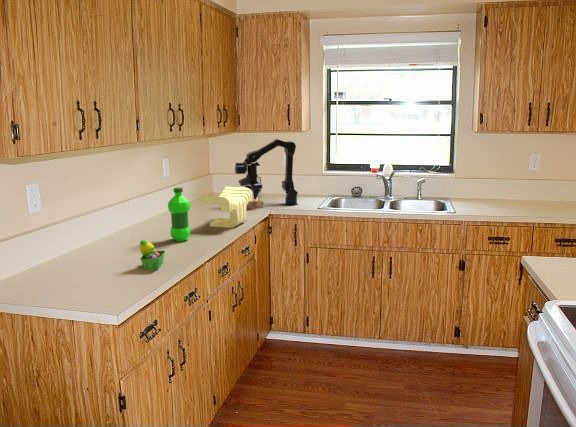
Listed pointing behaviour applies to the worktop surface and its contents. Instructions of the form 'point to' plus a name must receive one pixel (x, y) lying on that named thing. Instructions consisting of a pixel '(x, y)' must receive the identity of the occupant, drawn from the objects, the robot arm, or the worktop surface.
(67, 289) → the worktop surface
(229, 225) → the slatted curved stool
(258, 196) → the coffee box
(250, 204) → the copper brown block
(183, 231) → the plastic bottle
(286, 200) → the robot arm
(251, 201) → the faceted beige tumbler
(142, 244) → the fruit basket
